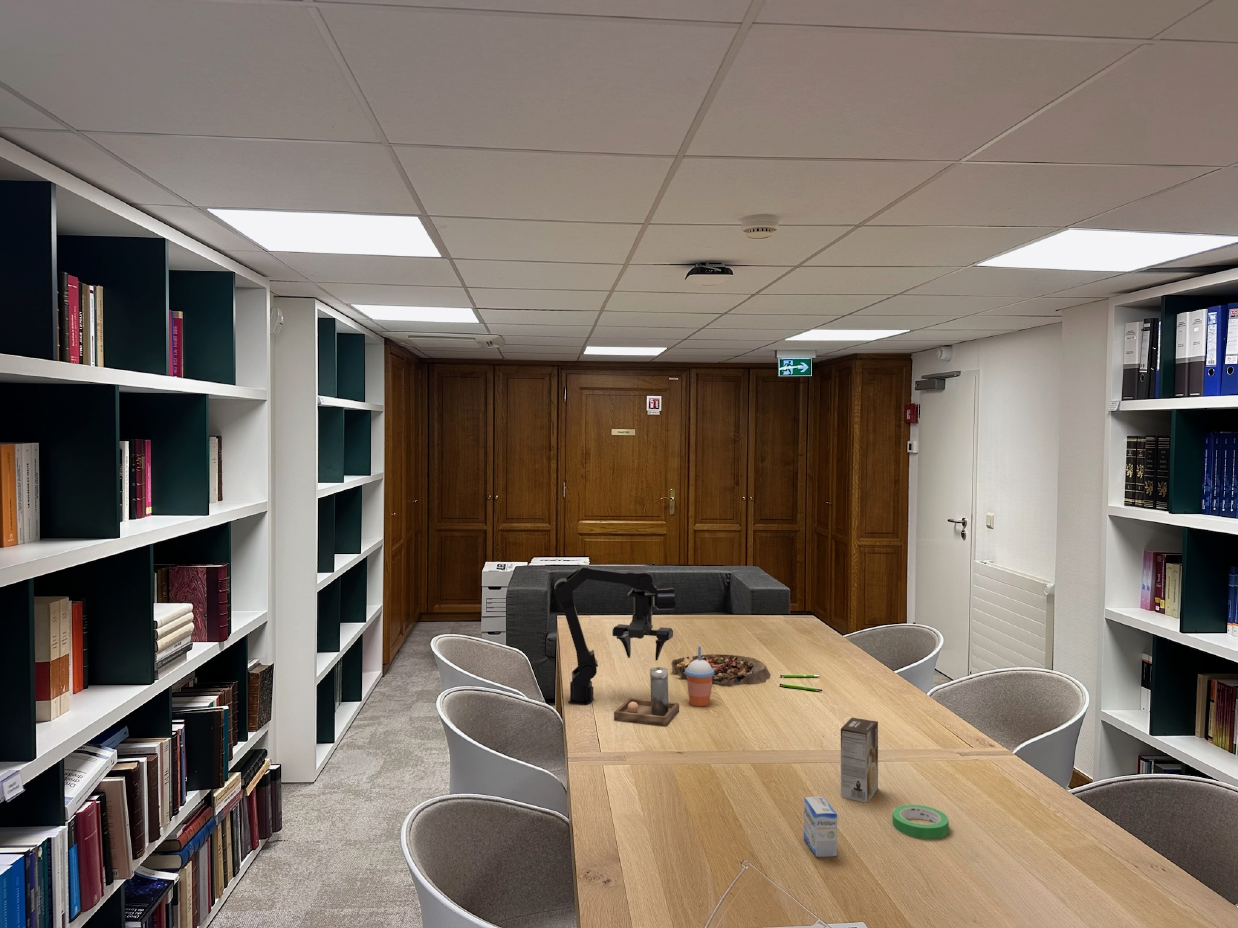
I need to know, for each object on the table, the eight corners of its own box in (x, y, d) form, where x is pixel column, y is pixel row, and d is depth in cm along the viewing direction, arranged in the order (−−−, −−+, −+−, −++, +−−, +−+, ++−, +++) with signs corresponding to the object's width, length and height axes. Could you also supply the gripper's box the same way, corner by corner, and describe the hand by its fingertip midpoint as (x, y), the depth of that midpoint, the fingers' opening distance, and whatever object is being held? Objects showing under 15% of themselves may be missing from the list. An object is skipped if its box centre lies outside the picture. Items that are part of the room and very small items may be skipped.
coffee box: (851, 783, 193) (851, 716, 193) (878, 788, 189) (878, 720, 189) (839, 797, 185) (840, 727, 185) (868, 803, 182) (868, 732, 181)
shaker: (650, 716, 239) (649, 672, 238) (650, 710, 244) (649, 667, 244) (669, 715, 238) (668, 671, 238) (668, 710, 244) (667, 667, 244)
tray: (614, 720, 238) (613, 711, 238) (629, 705, 251) (629, 697, 251) (666, 726, 233) (666, 717, 233) (679, 711, 246) (679, 703, 246)
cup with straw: (712, 708, 248) (712, 650, 248) (683, 707, 250) (683, 649, 250) (715, 699, 257) (715, 643, 257) (686, 698, 259) (686, 642, 258)
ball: (626, 700, 242) (630, 701, 244) (625, 711, 241) (629, 712, 244) (637, 701, 241) (640, 702, 243) (636, 713, 240) (639, 713, 243)
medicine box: (803, 838, 166) (803, 796, 166) (824, 837, 166) (824, 795, 166) (815, 857, 158) (815, 813, 158) (837, 856, 158) (837, 812, 158)
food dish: (659, 685, 278) (658, 662, 278) (687, 662, 309) (687, 642, 309) (760, 692, 265) (759, 668, 265) (779, 668, 295) (778, 647, 296)
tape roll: (883, 827, 171) (883, 815, 171) (907, 811, 178) (907, 799, 178) (934, 846, 163) (934, 832, 163) (957, 827, 171) (957, 815, 171)
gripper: (606, 613, 253) (606, 662, 253) (663, 617, 246) (663, 668, 247) (618, 606, 263) (618, 654, 263) (673, 610, 257) (673, 659, 257)
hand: (642, 658), depth 257 cm, fingers open, 9 cm apart
